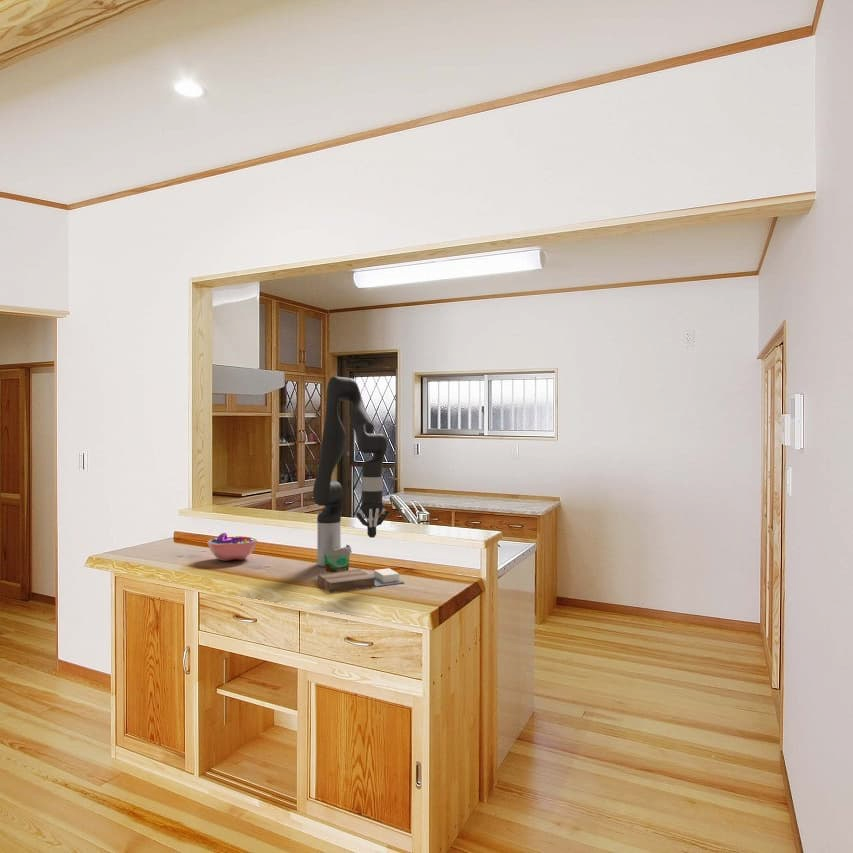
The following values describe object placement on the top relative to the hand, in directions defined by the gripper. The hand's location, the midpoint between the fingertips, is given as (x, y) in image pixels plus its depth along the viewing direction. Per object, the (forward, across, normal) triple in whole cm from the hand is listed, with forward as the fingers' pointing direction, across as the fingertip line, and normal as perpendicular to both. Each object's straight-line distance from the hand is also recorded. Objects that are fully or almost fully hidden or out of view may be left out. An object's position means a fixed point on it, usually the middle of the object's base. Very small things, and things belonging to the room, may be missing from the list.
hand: (371, 537), depth 226 cm
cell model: (+17, +39, -57) cm, 71 cm away
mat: (+16, -4, 0) cm, 16 cm away
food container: (+16, +7, -14) cm, 22 cm away
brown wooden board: (+16, +10, 0) cm, 19 cm away
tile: (+14, -6, +1) cm, 15 cm away
